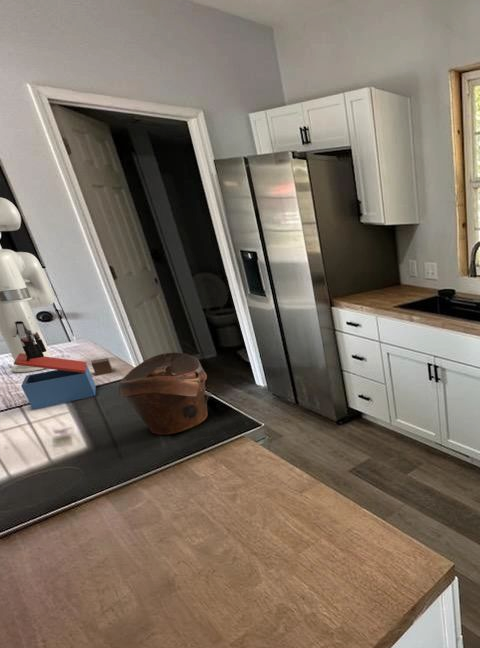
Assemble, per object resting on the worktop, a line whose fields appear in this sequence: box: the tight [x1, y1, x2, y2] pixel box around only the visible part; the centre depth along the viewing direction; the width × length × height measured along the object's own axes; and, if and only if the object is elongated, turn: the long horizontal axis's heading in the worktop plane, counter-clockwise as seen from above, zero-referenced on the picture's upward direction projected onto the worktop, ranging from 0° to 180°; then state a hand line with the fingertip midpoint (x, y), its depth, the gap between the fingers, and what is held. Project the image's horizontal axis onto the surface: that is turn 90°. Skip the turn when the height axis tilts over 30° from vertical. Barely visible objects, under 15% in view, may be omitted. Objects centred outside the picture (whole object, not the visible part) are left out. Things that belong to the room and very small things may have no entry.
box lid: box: [13, 353, 87, 373], centre depth 126 cm, size 14×12×5 cm
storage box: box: [20, 363, 97, 410], centre depth 129 cm, size 14×12×8 cm
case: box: [118, 352, 213, 436], centre depth 108 cm, size 18×20×18 cm
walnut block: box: [90, 357, 114, 376], centre depth 150 cm, size 4×4×4 cm
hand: (37, 354), depth 124 cm, fingers closed on box lid, 6 cm apart
